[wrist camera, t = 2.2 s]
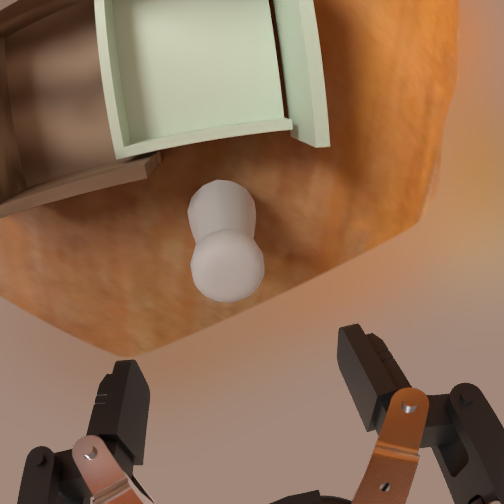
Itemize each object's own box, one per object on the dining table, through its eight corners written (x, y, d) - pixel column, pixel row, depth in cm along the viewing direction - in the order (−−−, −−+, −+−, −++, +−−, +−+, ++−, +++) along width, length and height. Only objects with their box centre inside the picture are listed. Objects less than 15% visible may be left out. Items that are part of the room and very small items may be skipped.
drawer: (106, -11, 18) (77, -39, 12) (277, -38, 19) (297, -74, 12) (130, 163, 26) (105, 183, 19) (301, 135, 26) (330, 146, 20)
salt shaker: (200, 165, 27) (193, 213, 16) (261, 184, 29) (297, 244, 17) (182, 224, 30) (166, 306, 18) (239, 241, 31) (258, 327, 19)
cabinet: (1, 35, 18) (-40, 28, 12) (137, -21, 19) (118, -52, 12) (26, 196, 26) (-11, 222, 20) (162, 160, 27) (147, 178, 20)
